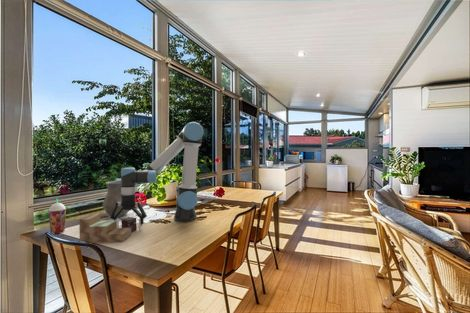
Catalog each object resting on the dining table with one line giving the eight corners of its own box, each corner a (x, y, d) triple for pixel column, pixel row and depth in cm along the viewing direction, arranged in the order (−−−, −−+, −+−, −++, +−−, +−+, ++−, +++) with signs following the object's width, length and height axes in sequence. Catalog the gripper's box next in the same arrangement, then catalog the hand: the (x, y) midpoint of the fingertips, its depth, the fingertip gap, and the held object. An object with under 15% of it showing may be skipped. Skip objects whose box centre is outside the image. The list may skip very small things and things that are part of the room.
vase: (124, 211, 185) (123, 179, 185) (138, 214, 174) (137, 181, 174) (97, 217, 169) (96, 182, 169) (111, 221, 158) (110, 184, 158)
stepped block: (131, 234, 132) (130, 213, 131) (122, 241, 121) (122, 218, 121) (91, 235, 131) (90, 214, 131) (79, 242, 121) (78, 219, 120)
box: (127, 233, 134) (127, 220, 134) (121, 231, 138) (120, 219, 137) (136, 230, 139) (136, 218, 139) (130, 228, 143) (130, 216, 143)
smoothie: (70, 230, 140) (69, 197, 139) (55, 235, 132) (54, 200, 132) (60, 229, 143) (59, 196, 142) (45, 233, 135) (44, 199, 134)
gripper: (151, 192, 142) (152, 227, 143) (110, 193, 141) (110, 228, 142) (147, 194, 135) (148, 231, 135) (103, 195, 134) (103, 232, 134)
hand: (128, 230), depth 138 cm, fingers open, 13 cm apart
